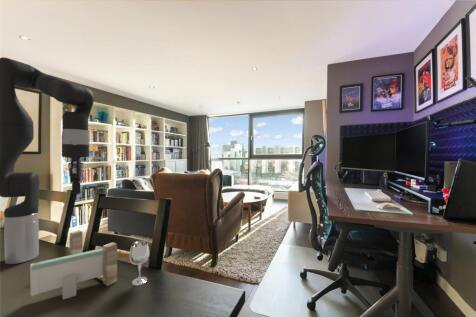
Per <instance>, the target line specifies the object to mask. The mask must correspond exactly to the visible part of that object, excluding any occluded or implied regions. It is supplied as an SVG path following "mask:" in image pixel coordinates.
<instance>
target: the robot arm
mask: <svg viewBox="0 0 476 317" xmlns="http://www.w3.org/2000/svg"><path fill="white" fill-rule="evenodd" d="M16 87H17V88H18V87H19V88H22V89H23V88H24V89H30V90H39V91H40V92H41V93H42V94H44V95H46V96H49V97H51V98H53V99H55V100H56V101H58V102H59V103H62V104H67V105H71V106H75V107H76V108H75V110H74V111H66V112H63V114H62V117H61V118H62V119H61V120H62V121H61V122H62V124H61V125H62V131H61V157H62V158H70V162H69V163H67V164H68V165H67V168H68V171H69V172H68V173H69V174H68V176H69V177H70V180H69V181H70V183H71V194H72V195H80V193H81V183H82V179H83V178H82V176H83V174H84V173H83V171H84V170H83V168H84V162H82V158H89V157H90V136H89V135H90V134H89V117H90V115H91V112H92V108H93V105H94V102H95V98H94V97H95V96H94V93H93V92H92V90H91V89H90V88H88V87H85V86H83V85H79V84H75V83H71V82H69V81H66V80H64V79H61V78H58V77H55V76H52V75H50V74H49V75H47V74H45V73H44V72H43V71H40V69H37V68H36V67H34V66H33V65H30V64H26V63H24V62H21V61H18V60H15V59H11V58H9V57H5V56H4V57H0V197H1V198H20V197H24V201H21V202H19V203H16V204H13V205H11V206H8V207H6V208H4V212H3V222H4V224H3V226H4V227H3V230H4V233H3V234H4V236H3V237H4V264H6V265H15V264H21V263H26V262H28V261H31V260H33V259H36V258H37V257H39V255H40V254H39V253H40V250H39V249H40V248H39V244H40V242H39V240H40V239H39V236H40V232H39V227H40V226H39V203H40V199H39V198H40V182H41V181H40V176H39V174H38V173H37V172H32V171H31V172H30V171H29V172H15V166H16V163H17V160H18V159H19V157H20V156H21V155H22V154H23V152H25V151H26V149H28V147H29V146H30V145H31V143H32V142H33V140H34V135H35V134H34V131H35V130H34V128H35V127H34V121H33V119H32V117H31V116H30V114H29V113H28V111H27V110H26V109H25V107H24V106H23V104H22V103H21V102H20V100H19V98H18V96H17V93H16V89H15V88H16Z"/></svg>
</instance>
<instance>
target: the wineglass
mask: <svg viewBox="0 0 476 317" xmlns="http://www.w3.org/2000/svg"><path fill="white" fill-rule="evenodd" d="M149 257H150V247H149V242H147V241H146V240H145V241H144V240H139V241H135V242H133V243H132V244H131V247H130V250H129V261H130V263H131V264H132V265H136V266H137V269H138V277H136V278H134V279H133V280H132V282H131V285H133V286H141V285H144V284H146V283H147V281H148V278H147V277H146V276H141V270H142V265H143V264H145V263H146V262H147V261H148V259H149Z"/></svg>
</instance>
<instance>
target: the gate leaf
mask: <svg viewBox="0 0 476 317" xmlns="http://www.w3.org/2000/svg"><path fill="white" fill-rule="evenodd" d="M29 271H30V272H29V274H30V276H29V278H30V279H29V280H30V282H29V284H30V285H29V286H30V287H29V288H30V289H29V290H30V291H29V292H30V297H33V296H35V295H40V294H43V293H46V292H49V291H50V292H51V291H53V290H57V289H60V288H62V281H63V277H65V276H69V275H72V274H76V284H78V283H81V282H85V281H88V280H92V279H95V278H96V277H100V276H103V247H102V248H101V247H100V248H97V249H92V250H87V251H85V252H83V251H82V253H78V254H74V255H70V254H69V255H65V256H61V257H56V258H52V259H47V260H42V261H37V262H32V263H31V264H30V267H29Z"/></svg>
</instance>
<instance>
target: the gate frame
mask: <svg viewBox="0 0 476 317" xmlns="http://www.w3.org/2000/svg"><path fill="white" fill-rule="evenodd" d="M102 248H103V276H100V277H96V278H97V280H100V281H102V282H103V283H102V284H103V285H105V286H107V287H109V286H111V285H112V284H114V283H116V282H118V244H117V243H115V242H110V243H107V244H105V245H104V244H103V245H102ZM78 253H83V231H82V230H76V231H72V232H69V255H74V254H78Z"/></svg>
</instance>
